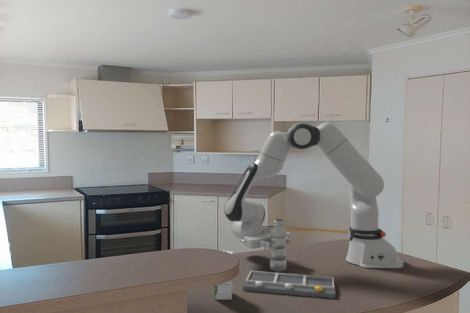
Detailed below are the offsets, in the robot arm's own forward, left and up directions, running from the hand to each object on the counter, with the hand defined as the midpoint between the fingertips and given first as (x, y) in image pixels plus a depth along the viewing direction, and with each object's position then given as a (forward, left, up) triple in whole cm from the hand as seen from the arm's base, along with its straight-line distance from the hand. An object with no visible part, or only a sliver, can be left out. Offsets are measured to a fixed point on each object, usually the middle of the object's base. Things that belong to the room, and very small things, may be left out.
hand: (279, 243), depth 152 cm
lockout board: (-5, +14, -11) cm, 19 cm away
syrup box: (+16, +27, -11) cm, 34 cm away
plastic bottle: (+1, -1, -11) cm, 11 cm away
